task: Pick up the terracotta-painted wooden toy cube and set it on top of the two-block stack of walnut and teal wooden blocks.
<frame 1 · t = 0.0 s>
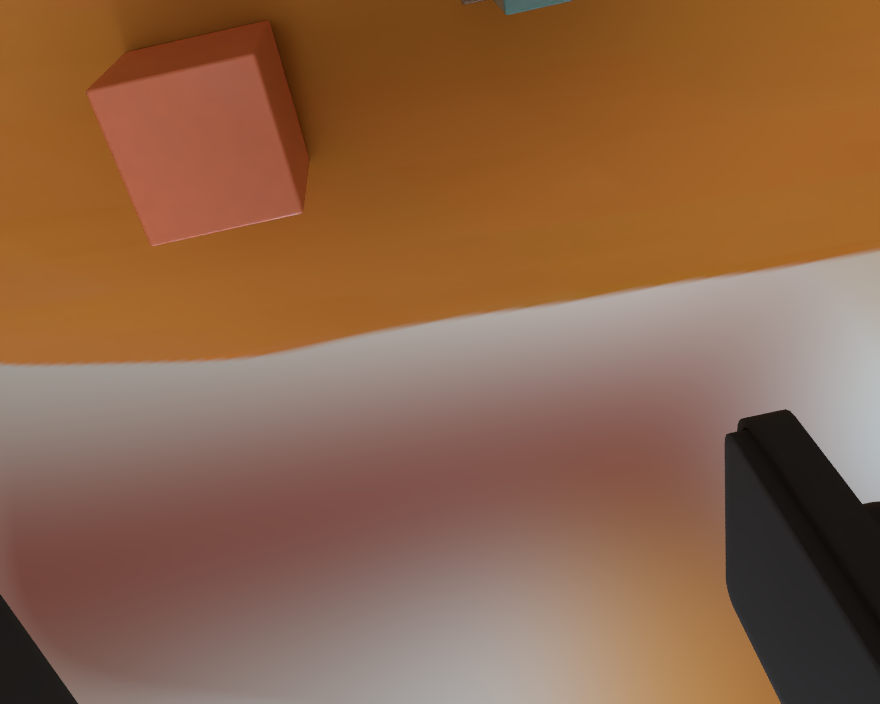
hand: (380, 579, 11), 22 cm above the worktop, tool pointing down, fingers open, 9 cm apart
toy cube: (221, 108, 29), on the worktop
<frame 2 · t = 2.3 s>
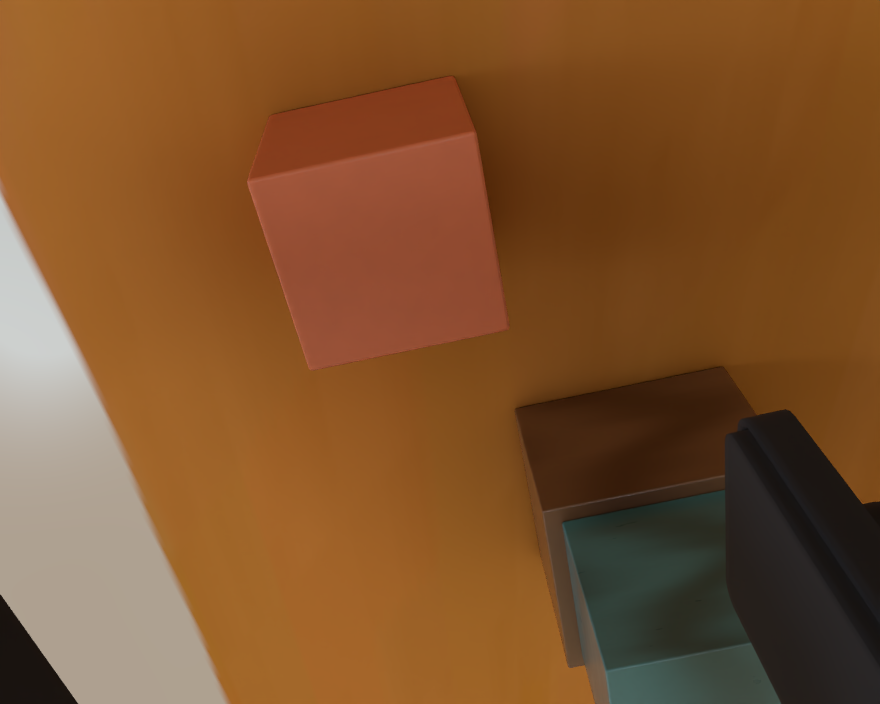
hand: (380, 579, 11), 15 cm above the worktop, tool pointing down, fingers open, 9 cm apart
toy cube: (382, 183, 23), on the worktop
block stack: (626, 467, 29), on the worktop
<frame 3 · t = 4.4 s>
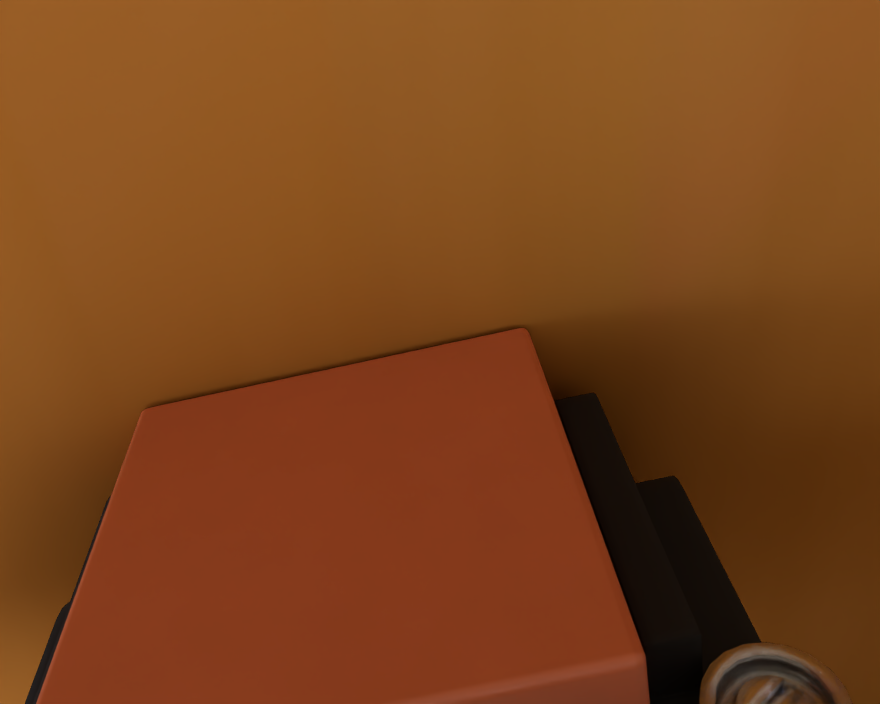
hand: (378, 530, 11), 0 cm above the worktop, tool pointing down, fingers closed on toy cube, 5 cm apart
toy cube: (378, 508, 12), on the worktop, touching gripper
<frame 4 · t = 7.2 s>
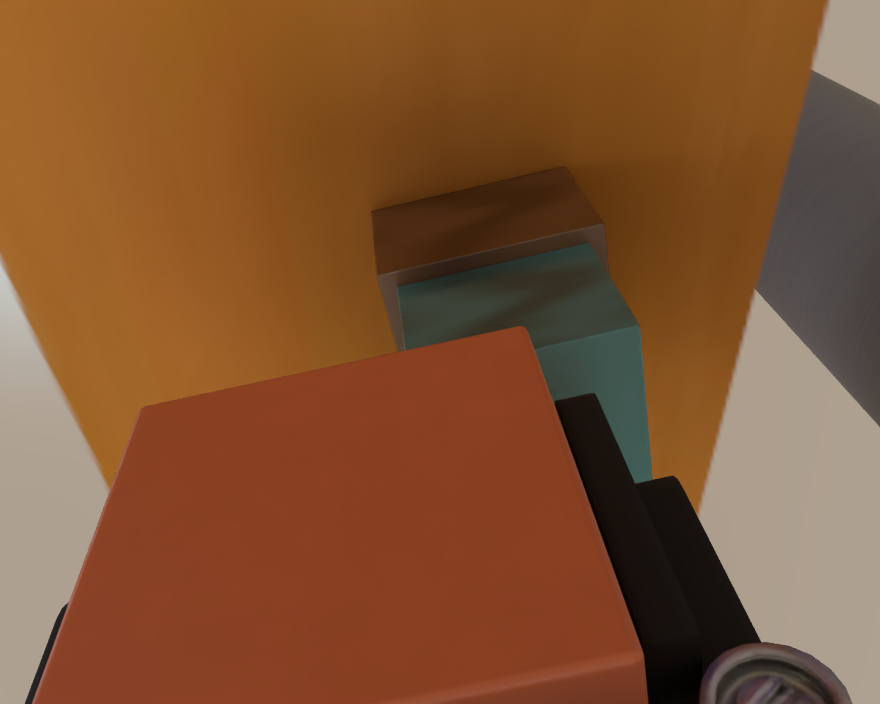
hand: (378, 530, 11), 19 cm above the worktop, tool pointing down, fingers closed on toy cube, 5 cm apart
toy cube: (376, 507, 12), point 19 cm above the worktop, touching gripper
block stack: (484, 275, 31), on the worktop
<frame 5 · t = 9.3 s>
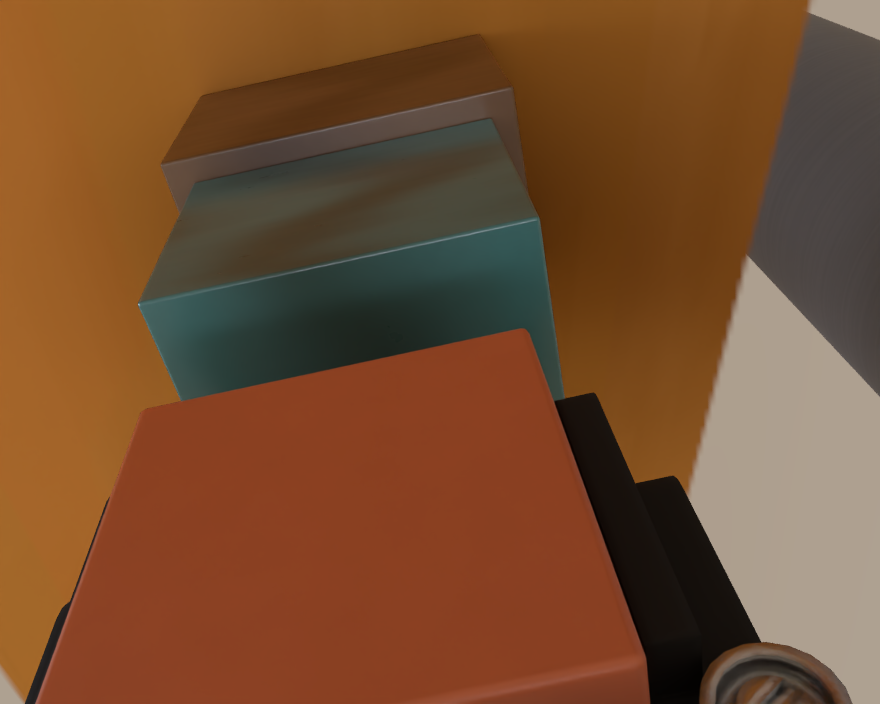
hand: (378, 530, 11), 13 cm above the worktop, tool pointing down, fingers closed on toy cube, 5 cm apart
toy cube: (377, 509, 12), point 12 cm above the worktop, touching gripper
block stack: (372, 197, 22), on the worktop
when the fingers open (10 cm above the worktop, at t = 10.4 s): toy cube stays where it is, resting on block stack.
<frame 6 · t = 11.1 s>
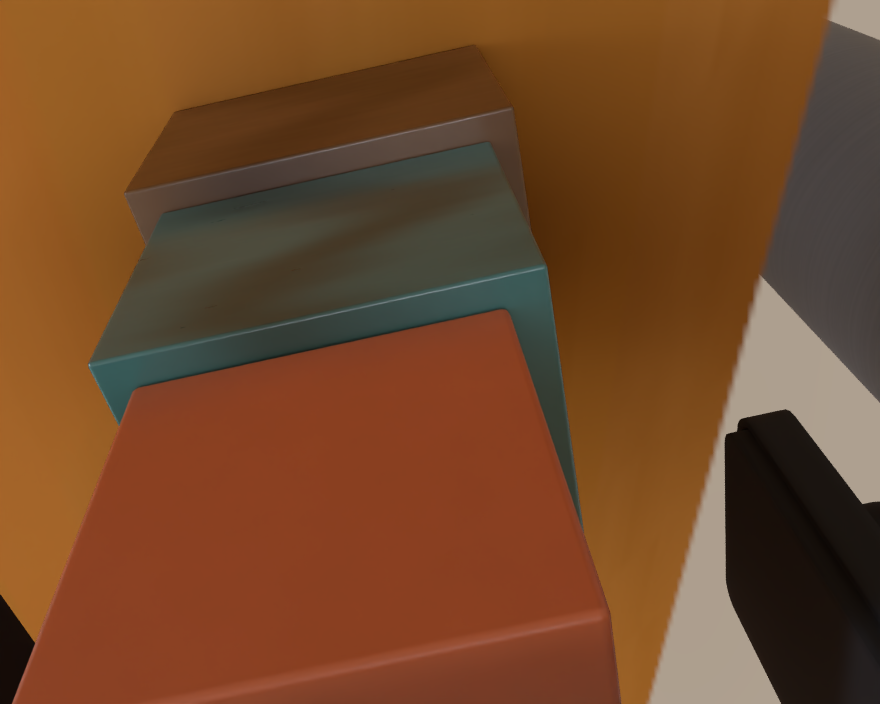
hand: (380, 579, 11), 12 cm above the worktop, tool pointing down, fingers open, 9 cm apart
toy cube: (364, 487, 12), point 10 cm above the worktop, touching block stack
block stack: (361, 219, 21), on the worktop, touching toy cube
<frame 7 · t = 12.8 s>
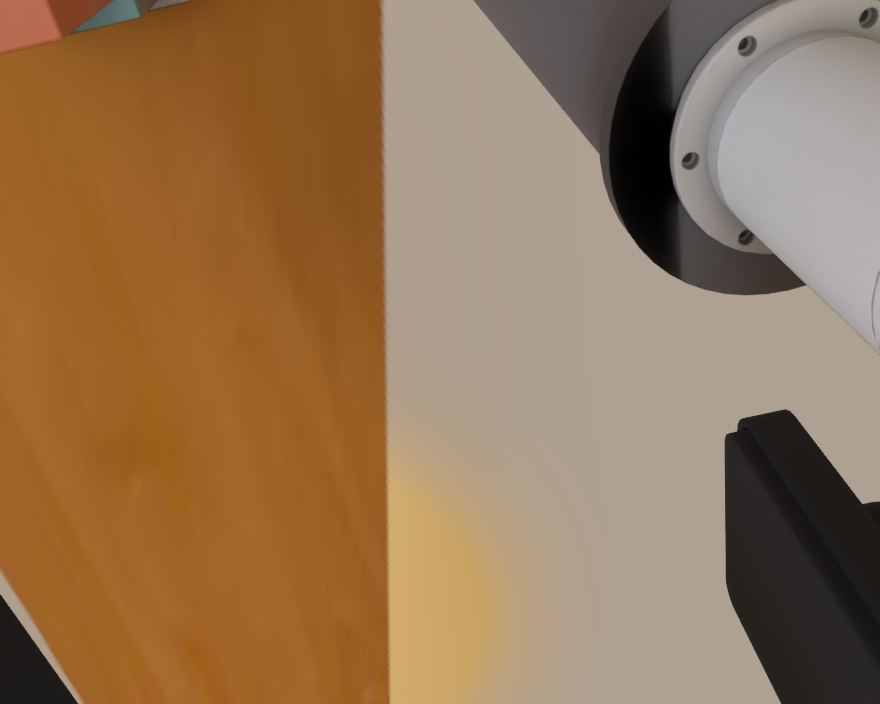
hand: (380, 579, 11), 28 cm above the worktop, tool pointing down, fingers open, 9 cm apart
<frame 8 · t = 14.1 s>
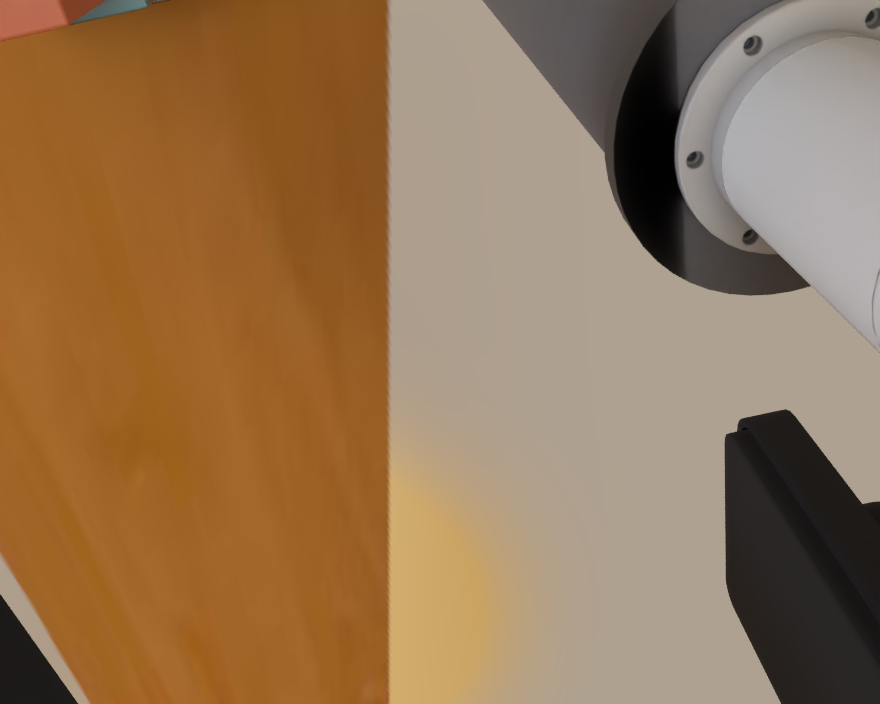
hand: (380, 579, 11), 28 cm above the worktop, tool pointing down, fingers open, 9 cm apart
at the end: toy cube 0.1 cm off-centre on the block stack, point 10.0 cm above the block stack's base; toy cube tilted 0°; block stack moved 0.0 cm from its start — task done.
